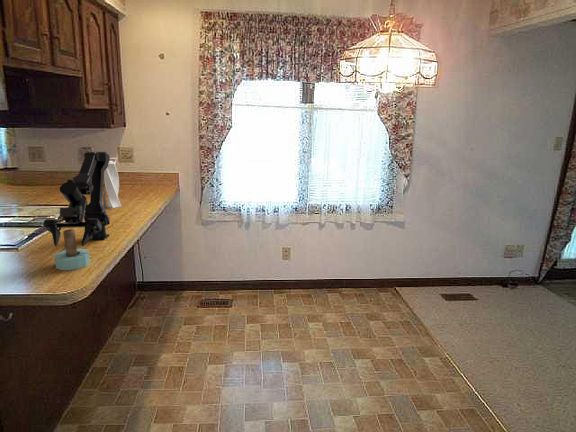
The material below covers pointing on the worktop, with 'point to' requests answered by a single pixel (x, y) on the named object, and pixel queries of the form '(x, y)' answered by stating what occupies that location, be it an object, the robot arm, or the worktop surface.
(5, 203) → the worktop surface
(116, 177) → the skyscraper
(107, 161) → the robot arm
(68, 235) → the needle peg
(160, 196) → the worktop surface
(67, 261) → the bead
